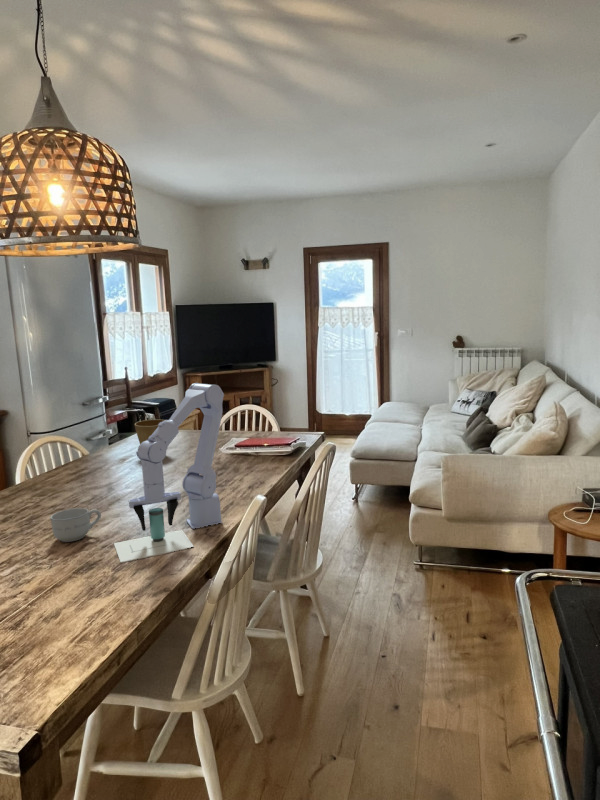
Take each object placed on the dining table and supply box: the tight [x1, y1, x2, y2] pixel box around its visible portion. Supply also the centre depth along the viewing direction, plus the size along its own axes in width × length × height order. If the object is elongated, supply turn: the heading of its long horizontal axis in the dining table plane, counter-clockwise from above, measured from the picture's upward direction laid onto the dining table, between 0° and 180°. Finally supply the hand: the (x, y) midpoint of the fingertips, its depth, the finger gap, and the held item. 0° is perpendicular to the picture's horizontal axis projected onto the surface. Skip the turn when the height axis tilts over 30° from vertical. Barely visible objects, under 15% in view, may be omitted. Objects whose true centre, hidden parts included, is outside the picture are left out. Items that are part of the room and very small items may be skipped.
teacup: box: [49, 507, 102, 543], centre depth 168 cm, size 14×11×8 cm
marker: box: [148, 507, 166, 542], centre depth 163 cm, size 4×4×9 cm
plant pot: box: [134, 419, 166, 445], centre depth 260 cm, size 15×15×16 cm
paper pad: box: [113, 529, 195, 564], centre depth 160 cm, size 20×14×1 cm
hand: (157, 526), depth 163 cm, fingers open, 7 cm apart
